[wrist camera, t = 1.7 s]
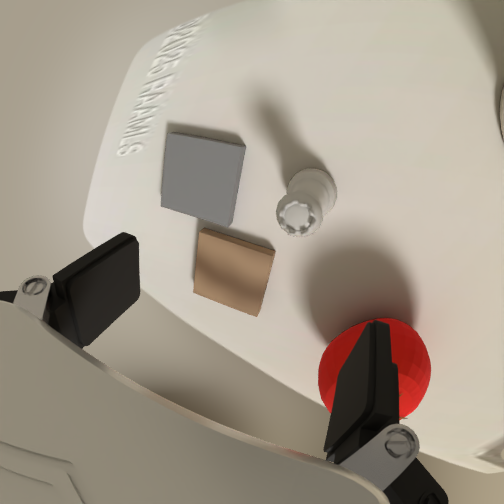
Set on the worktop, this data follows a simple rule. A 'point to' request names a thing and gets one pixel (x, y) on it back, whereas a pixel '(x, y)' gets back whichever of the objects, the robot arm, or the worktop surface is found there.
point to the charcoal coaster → (201, 177)
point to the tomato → (403, 354)
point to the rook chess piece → (306, 202)
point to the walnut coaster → (232, 271)
